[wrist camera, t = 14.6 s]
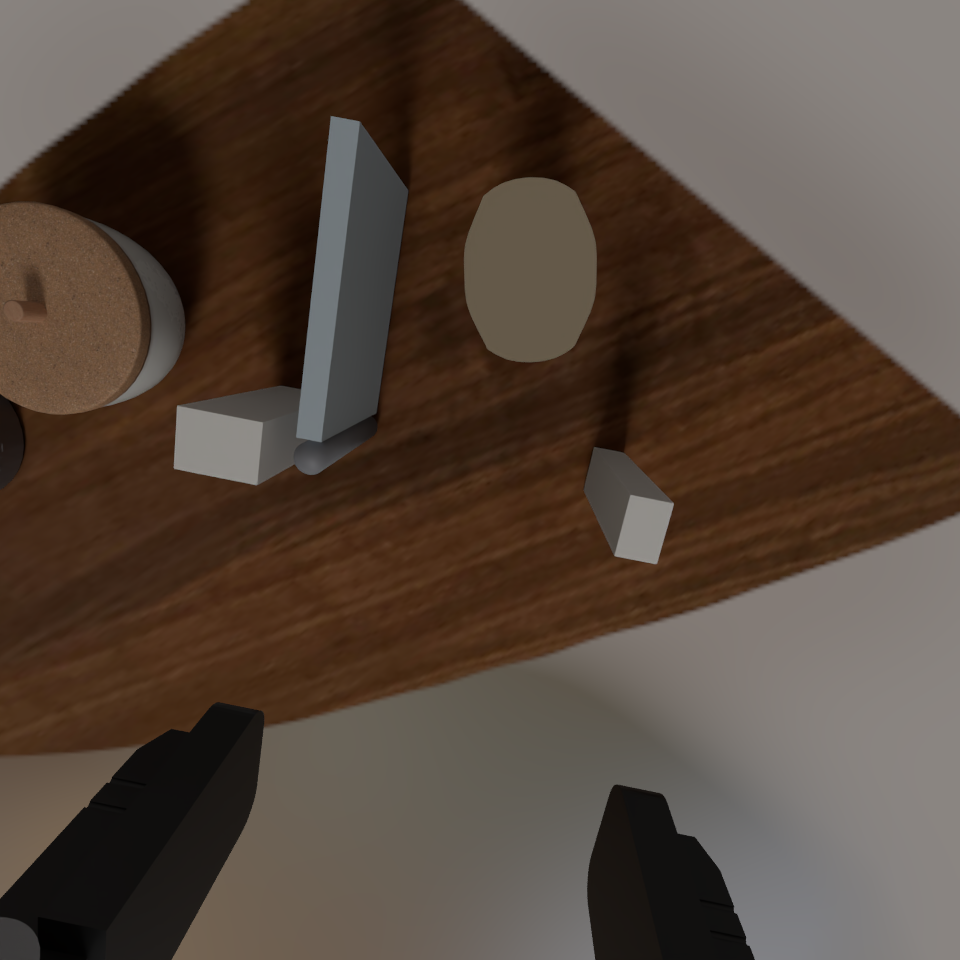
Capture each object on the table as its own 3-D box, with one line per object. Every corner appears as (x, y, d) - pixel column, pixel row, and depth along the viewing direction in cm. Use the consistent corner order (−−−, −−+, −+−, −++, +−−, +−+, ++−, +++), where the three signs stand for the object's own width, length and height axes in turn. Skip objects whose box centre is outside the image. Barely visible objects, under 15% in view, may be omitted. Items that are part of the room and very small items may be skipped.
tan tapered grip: (562, 243, 35) (598, 173, 20) (561, 352, 36) (594, 360, 22) (482, 247, 35) (461, 180, 20) (485, 354, 36) (467, 364, 22)
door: (375, 440, 38) (320, 480, 27) (351, 435, 38) (288, 473, 27) (411, 191, 34) (364, 122, 23) (385, 186, 34) (326, 115, 23)
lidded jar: (167, 202, 35) (47, 153, 26) (243, 366, 37) (157, 374, 28) (25, 268, 37) (-135, 245, 28) (106, 423, 39) (-18, 448, 30)
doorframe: (276, 429, 38) (173, 468, 27) (281, 385, 38) (177, 405, 26) (612, 495, 38) (656, 564, 26) (624, 452, 37) (674, 503, 26)
